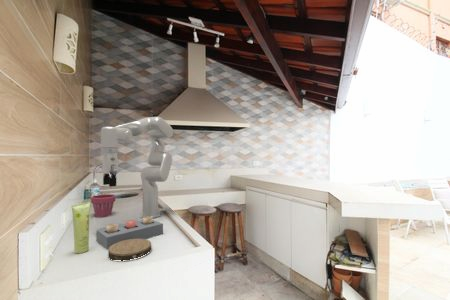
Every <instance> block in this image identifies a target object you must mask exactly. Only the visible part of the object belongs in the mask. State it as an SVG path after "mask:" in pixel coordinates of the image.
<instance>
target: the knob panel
mask: <svg viewBox="0 0 450 300" xmlns="http://www.w3.org/2000/svg"><path fill="white" fill-rule="evenodd" d="M135 221H136V227H135V228H131V229H126V223H121V224H117V225H118V232H114V233H110V234H107V227H105V228H104V227H103V228H100V229H96V231H95V232H96V233H95V234H96V235H95V237H96V239H95V241H96V242H97V243H98V244H99V245H101V246H102V247H103V248H104V249H106V250H108V249H109V247H110V246H112V245H113V244H115V243H117V242H120V241H124V240H129V239H146V238H147V239H150V238H153V236H154V237H156V236H160V234H161V235H163V234H164V224H163V223H162V222H160V221H157V220H154V219H152V224H148V225H144V224H143V219H141V220H140V219H139V220H135ZM149 237H150V238H149ZM147 239H146V240H147Z"/></svg>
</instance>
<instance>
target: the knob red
mask: <svg viewBox="0 0 450 300" xmlns="http://www.w3.org/2000/svg"><path fill="white" fill-rule="evenodd" d="M136 221H137V220H135V219H134V220H133V219H132V220H126V221H125V224H126V229H131V228H135V227H136Z"/></svg>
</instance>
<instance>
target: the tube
mask: <svg viewBox="0 0 450 300" xmlns="http://www.w3.org/2000/svg"><path fill="white" fill-rule="evenodd" d="M71 213H72V224H73V243H74V244H73V245H74V250H73V251H74V253H75V254H83V253H86V252H88V251H89V249H90V247H89V246H90V244H89V241H90V239H89V237H90V235H89V234H90V215H91V214H90V213H91V201H88V202H82V203H78V204H73V205H71Z"/></svg>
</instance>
